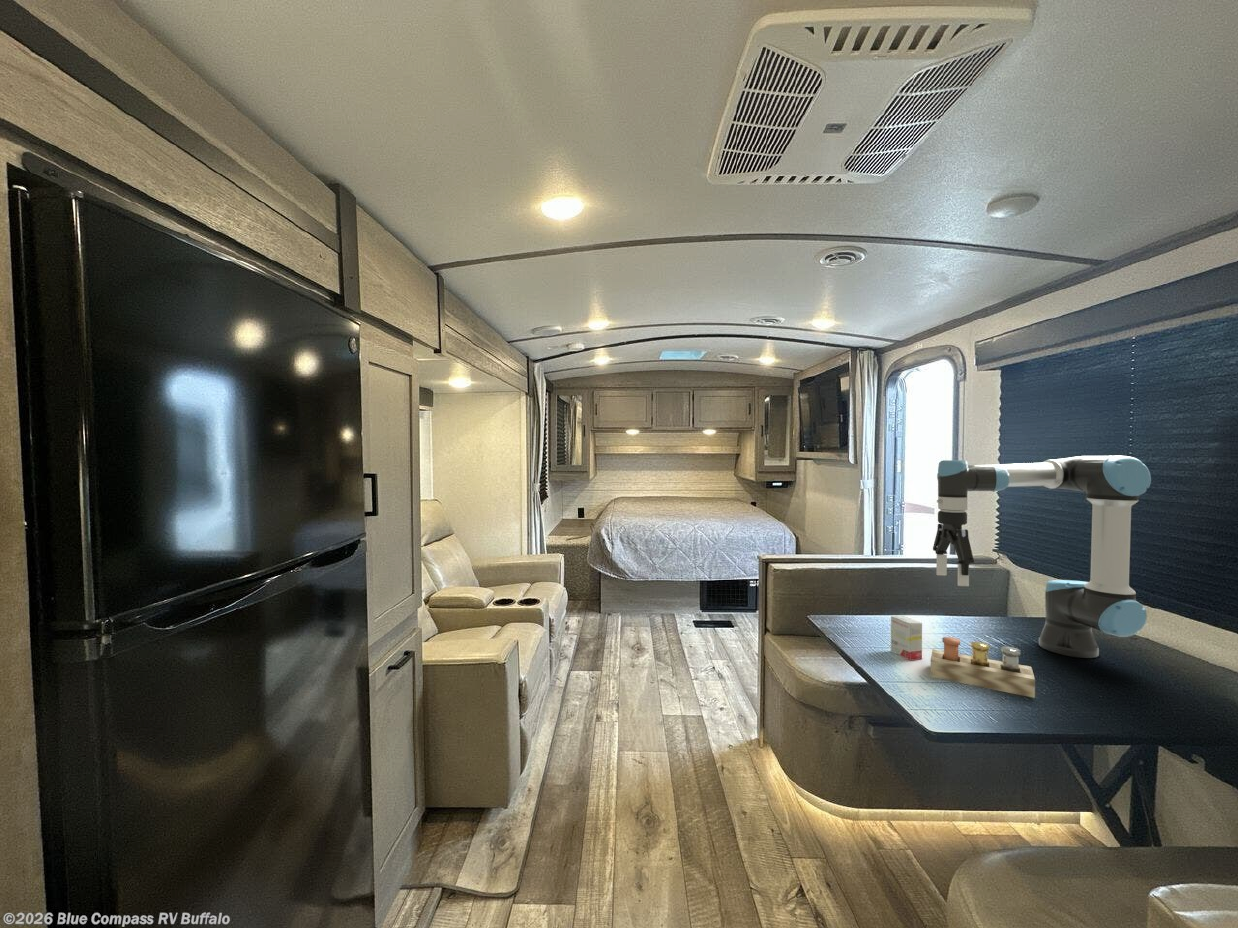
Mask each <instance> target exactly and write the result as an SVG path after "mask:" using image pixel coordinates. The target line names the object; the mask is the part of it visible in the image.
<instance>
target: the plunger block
mask: <svg viewBox="0 0 1238 928" xmlns="http://www.w3.org/2000/svg"><path fill="white" fill-rule="evenodd" d="M930 655H931V656H930V662H929V663H930V665H929V666H930V668H929V669H930V671H929V672H930V674H929V675H930V677H931V678H935V679H940V680H945V681H948V682H949V681H950V682H955V683H961V684H964V685H970V686H974V687H979V688H984V689H990V690H994V691H999V692H1002V693H1003V692H1004V693H1009V694H1013V695H1019V696H1023V697H1028V698H1033V699H1035V698H1036V678H1035V675H1034V672H1033V671H1034V670H1033V668H1032V666H1029V665H1024V664H1023V665H1022V664H1019V673H1016V672H1011V671H1005V670H1002V667H1003V660H1002V661H1000V660H996V659H989V658H988V667H984V666H978V665H973V664H972V658H973V655H966V654H962V653H958V662H957V661H951V660H946V659H944V650H940V649H932V650H931V654H930Z"/></svg>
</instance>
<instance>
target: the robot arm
mask: <svg viewBox="0 0 1238 928" xmlns="http://www.w3.org/2000/svg"><path fill="white" fill-rule="evenodd" d="M937 468H938V469H937V475H936V478H937V499H936V503H937V507H938V512H937V530H936V535H935V538H934V543H933V546H932V550H933V551H934V553H935V554H936V567H935V568H936V573H935V574H936V575H937V576H947V574H948V573H947V572H948V571H947V569H948V568H947V567H948V552H947V551H948V549H949V548H950V547H949V546H950V544H951V545H952V546H953V548H954V551H955V553H956V556H957V559H958V561H957V562H956V564H957V586H958V587H970V565H971V564H974V563H975V560H974V555H973V551H972V547H971V543H970V538H969V530H968V529H965V528H964V529H963V527H962V526H965V525H967V524H968V513H967V512H966V511H967V510H968V492H1000V491H1004V490H1006V489H1007V488H1013V487H1014V488H1015V487H1016V488H1019V487H1045V488H1047V489H1050V490H1051V489H1060V490H1061V489H1062V490H1070V491H1078V492H1082V493H1083V492H1084V493H1085V499H1086V500H1087V501H1088V502H1089V503H1091V505H1092V506H1091V507H1092V510H1091V511H1092V512H1091V513H1092V514H1091V543H1090V544H1091V547H1090V551H1091V553H1090V575H1089V576H1090V580H1089V581H1085V580H1084V581H1082V580H1071V579H1053V580H1049V581H1047V582H1046V584H1045V590H1044V593H1045V599H1044V600H1045V623H1044V625H1043V628H1042V631H1041V633H1040V635H1039V637H1038V646H1040V647H1041V648H1042V649H1043V650H1046V651H1048V652H1052V653H1054V654H1055V653H1056V654H1059V655H1063V656H1065V657H1066V656H1067V657H1072V658H1073V657H1074V658H1078V659H1079V658H1082V659H1093V658H1098V657H1099V654H1100V649H1099V647H1098V646H1099V645H1098V644H1097V641H1096V639H1095V635H1094V633H1093V630H1092V629H1095V630H1096V631H1097V630H1098V631H1099V632H1100V631H1101V632H1102V633H1104V634H1107V635H1112V636H1115V637H1121V638H1125V637H1126V638H1128V637H1131V636H1134V635H1135V634H1137V633H1138V632H1140V631H1141V630H1142V629H1143V627H1145V625H1146V622H1147V619H1148V618H1147V617H1148V613H1147V609H1146V608H1145V607H1144V605H1143V604H1142V603H1140V602H1138V601H1137V600H1136V599H1137V598H1136V597H1137V593H1136V591H1135V590H1134V589H1133V588H1132V587H1131V586H1130V560H1131V559H1130V558H1131V555H1130V554H1131V530H1132V529H1131V528H1132V527H1131V525H1132V524H1131V523H1132V522H1131V521H1132V506H1134V505H1136V503H1138V502H1139V497H1140V496H1141V495H1143V494H1145V493H1146V492H1147V491H1148V490H1147V489H1149V488H1150V485H1151V483H1152V476H1151V472H1150V470H1149V468H1148V467H1147V465H1145V463H1143V462H1142V461H1141V460H1140V459H1138V458H1136V457H1133V456H1127V455H1081V456H1079V455H1078V456H1072V457H1065V458H1057V459H1046V460H1044V461H1042V462H1033V463H1032V462H1031V463H1030V462H1029V463H1028V462H1027V463H1025V462H1023V463H1001V464H1000V463H997V464H996V463H995V464H971V465H970V464H969V465H968V461H967V460H962V459H961V460H960V459H959V460H958V459H956V460H955V459H953V460H952V459H951V460H947V459H945V460H941V461H939V462H938V467H937Z"/></svg>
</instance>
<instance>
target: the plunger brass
mask: <svg viewBox="0 0 1238 928" xmlns="http://www.w3.org/2000/svg"><path fill="white" fill-rule="evenodd" d="M970 647H971V649H972V656H973V658H972V664H973V665H978V666H984V667H988V659H989V651H990V645H989V644H988V643H986V642H983V641H982V642H981V641H971V642H970Z"/></svg>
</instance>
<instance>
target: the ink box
mask: <svg viewBox="0 0 1238 928" xmlns="http://www.w3.org/2000/svg"><path fill="white" fill-rule="evenodd" d="M890 652H892V653H894V654H896V655H898V656H900V657H903V658H905V659H907V660H909V661H914V660H922V659H923V623H922V622H920V621H917V620H915V619H914V618H913V619H912V618H910V617H908V616H905V615H892V616H890Z"/></svg>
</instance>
